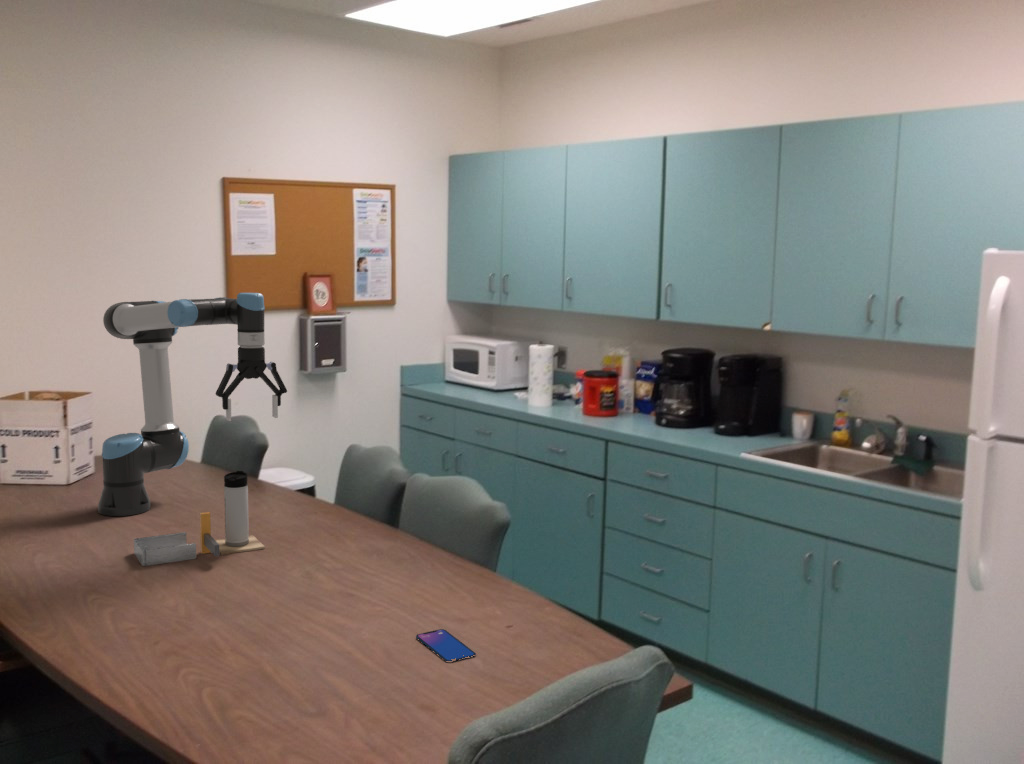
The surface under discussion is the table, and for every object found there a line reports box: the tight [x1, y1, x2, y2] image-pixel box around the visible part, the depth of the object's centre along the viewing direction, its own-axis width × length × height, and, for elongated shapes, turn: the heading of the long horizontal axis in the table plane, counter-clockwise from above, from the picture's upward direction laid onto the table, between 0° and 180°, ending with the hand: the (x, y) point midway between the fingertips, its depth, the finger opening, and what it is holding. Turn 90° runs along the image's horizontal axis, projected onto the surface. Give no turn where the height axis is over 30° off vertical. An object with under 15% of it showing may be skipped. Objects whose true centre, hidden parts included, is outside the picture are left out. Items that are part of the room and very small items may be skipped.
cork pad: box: [214, 534, 266, 556], centre depth 262 cm, size 12×12×1 cm
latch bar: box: [199, 511, 221, 557], centre depth 250 cm, size 13×2×11 cm, turn 32°
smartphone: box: [415, 628, 477, 662], centre depth 199 cm, size 7×1×15 cm
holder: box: [133, 531, 197, 567], centre depth 252 cm, size 12×14×4 cm
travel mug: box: [223, 470, 250, 547], centre depth 261 cm, size 6×7×20 cm
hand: (252, 418), depth 275 cm, fingers open, 13 cm apart
